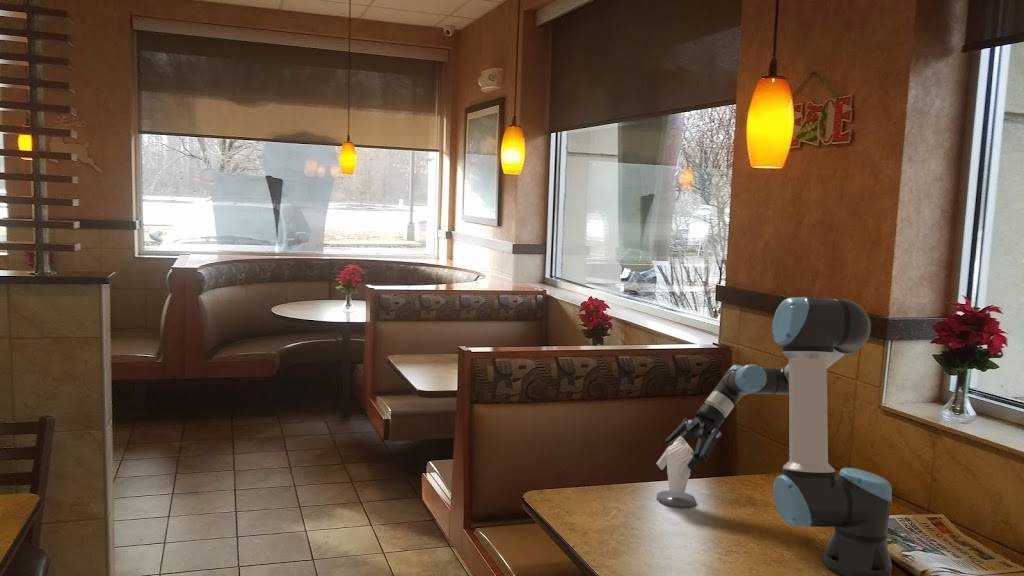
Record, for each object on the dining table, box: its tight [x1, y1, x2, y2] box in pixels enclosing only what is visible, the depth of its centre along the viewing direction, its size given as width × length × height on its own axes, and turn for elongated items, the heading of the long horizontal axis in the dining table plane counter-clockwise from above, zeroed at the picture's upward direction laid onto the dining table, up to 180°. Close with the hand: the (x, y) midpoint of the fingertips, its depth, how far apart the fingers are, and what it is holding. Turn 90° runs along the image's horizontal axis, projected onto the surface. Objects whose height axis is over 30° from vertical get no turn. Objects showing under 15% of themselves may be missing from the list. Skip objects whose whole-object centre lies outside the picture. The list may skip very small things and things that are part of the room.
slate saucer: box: [656, 490, 697, 509], centre depth 233 cm, size 11×11×1 cm
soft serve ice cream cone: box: [665, 437, 695, 494], centre depth 232 cm, size 8×8×16 cm
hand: (669, 471), depth 230 cm, fingers closed on soft serve ice cream cone, 8 cm apart
